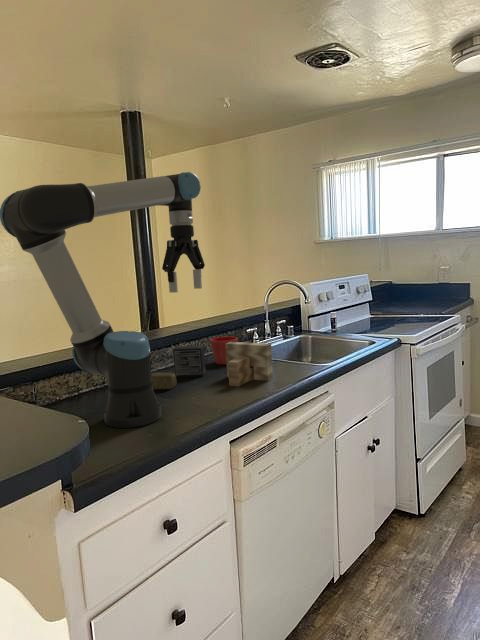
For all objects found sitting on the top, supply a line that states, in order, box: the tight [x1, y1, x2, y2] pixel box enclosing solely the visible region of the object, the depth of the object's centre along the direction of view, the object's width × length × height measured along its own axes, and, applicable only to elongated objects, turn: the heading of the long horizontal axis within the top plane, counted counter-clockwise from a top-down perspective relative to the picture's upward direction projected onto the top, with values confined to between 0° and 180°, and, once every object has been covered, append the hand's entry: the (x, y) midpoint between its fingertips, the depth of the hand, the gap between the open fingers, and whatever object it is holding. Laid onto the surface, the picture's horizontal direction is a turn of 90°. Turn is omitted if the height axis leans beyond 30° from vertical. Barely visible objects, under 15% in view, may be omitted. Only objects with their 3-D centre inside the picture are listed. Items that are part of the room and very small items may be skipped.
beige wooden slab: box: [226, 341, 274, 382], centre depth 168 cm, size 16×4×12 cm, turn 60°
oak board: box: [228, 357, 254, 387], centre depth 168 cm, size 22×4×8 cm, turn 150°
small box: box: [172, 344, 207, 378], centre depth 177 cm, size 11×6×10 cm, turn 84°
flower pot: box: [209, 336, 239, 365], centre depth 194 cm, size 11×11×10 cm
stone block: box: [151, 372, 178, 391], centre depth 162 cm, size 6×12×5 cm, turn 80°
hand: (186, 290), depth 160 cm, fingers open, 13 cm apart
